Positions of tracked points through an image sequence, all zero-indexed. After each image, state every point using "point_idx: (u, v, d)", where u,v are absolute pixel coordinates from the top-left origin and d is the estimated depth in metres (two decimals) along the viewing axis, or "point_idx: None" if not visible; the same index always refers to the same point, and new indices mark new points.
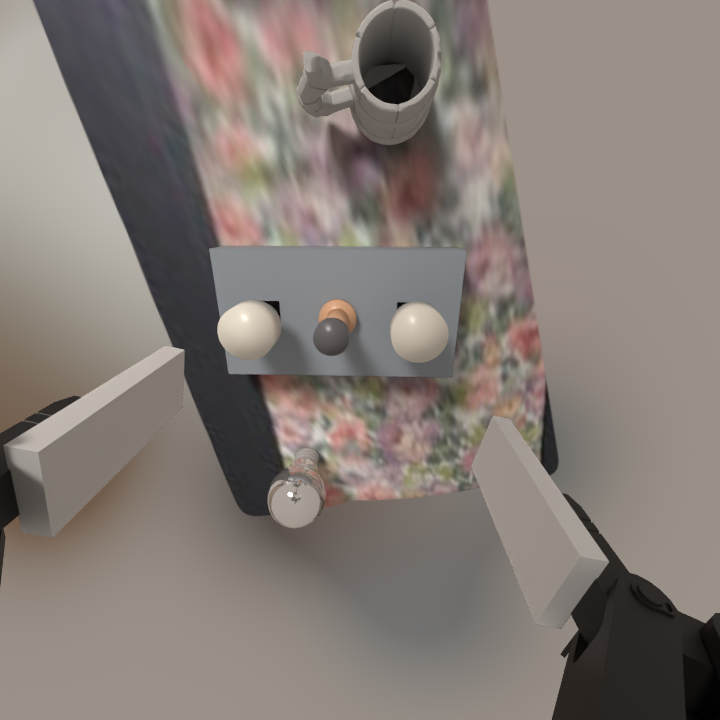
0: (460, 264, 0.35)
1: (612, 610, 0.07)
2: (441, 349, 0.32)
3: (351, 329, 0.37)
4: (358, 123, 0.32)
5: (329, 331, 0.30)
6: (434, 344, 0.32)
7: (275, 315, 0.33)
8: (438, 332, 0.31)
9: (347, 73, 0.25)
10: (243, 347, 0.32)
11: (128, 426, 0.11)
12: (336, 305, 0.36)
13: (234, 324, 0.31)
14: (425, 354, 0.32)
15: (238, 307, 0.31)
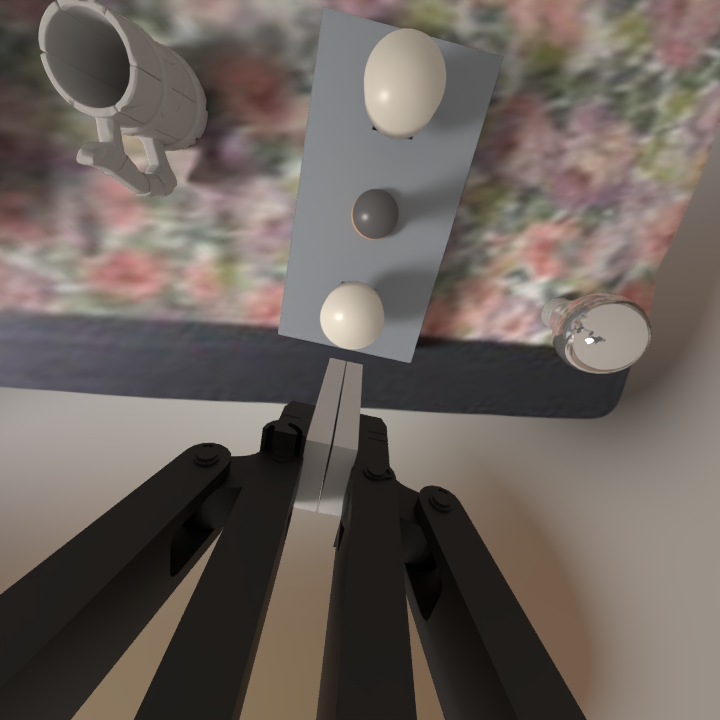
0: (340, 19, 0.26)
1: (352, 498, 0.09)
2: (433, 45, 0.21)
3: None
4: (181, 142, 0.30)
5: (365, 213, 0.24)
6: (422, 57, 0.21)
7: (345, 283, 0.29)
8: (406, 46, 0.21)
9: (106, 124, 0.24)
10: (366, 326, 0.28)
11: None
12: None
13: (338, 327, 0.28)
14: (434, 76, 0.22)
15: (321, 316, 0.28)
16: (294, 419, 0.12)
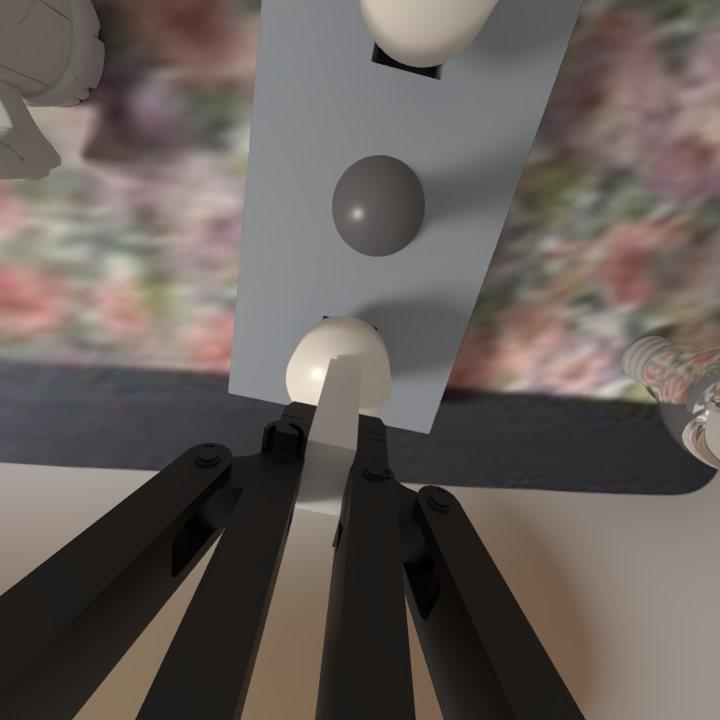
0: None
1: (350, 498, 0.09)
2: None
3: None
4: (54, 91, 0.18)
5: (357, 206, 0.12)
6: None
7: (327, 321, 0.18)
8: None
9: None
10: (362, 393, 0.17)
11: None
12: None
13: (316, 395, 0.17)
14: None
15: (287, 378, 0.17)
16: (295, 419, 0.12)
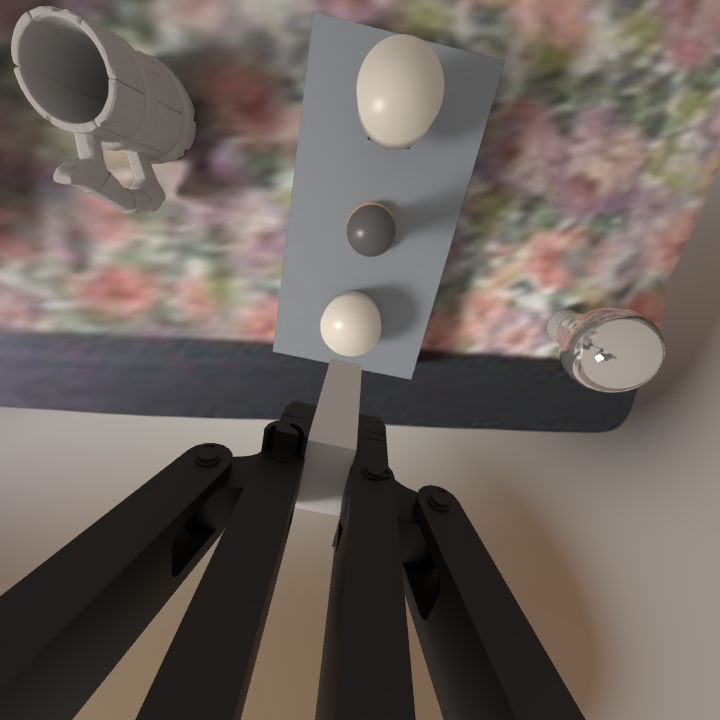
0: (331, 25, 0.24)
1: (350, 498, 0.09)
2: (430, 52, 0.20)
3: None
4: (168, 155, 0.29)
5: (359, 230, 0.22)
6: (419, 64, 0.20)
7: (343, 293, 0.30)
8: (401, 53, 0.20)
9: (86, 140, 0.23)
10: (364, 334, 0.29)
11: None
12: None
13: (337, 336, 0.30)
14: (431, 84, 0.20)
15: (321, 325, 0.29)
16: (295, 419, 0.12)
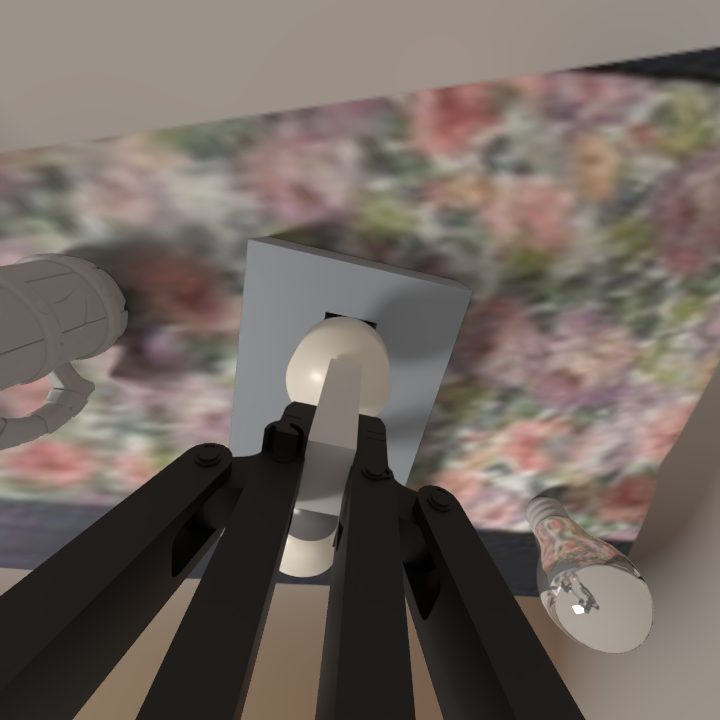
0: (270, 252, 0.21)
1: (350, 498, 0.09)
2: (372, 350, 0.16)
3: None
4: (93, 355, 0.26)
5: (295, 519, 0.19)
6: (360, 361, 0.16)
7: None
8: (337, 351, 0.16)
9: None
10: (316, 559, 0.26)
11: None
12: None
13: (285, 559, 0.26)
14: (376, 379, 0.17)
15: None
16: (295, 419, 0.12)
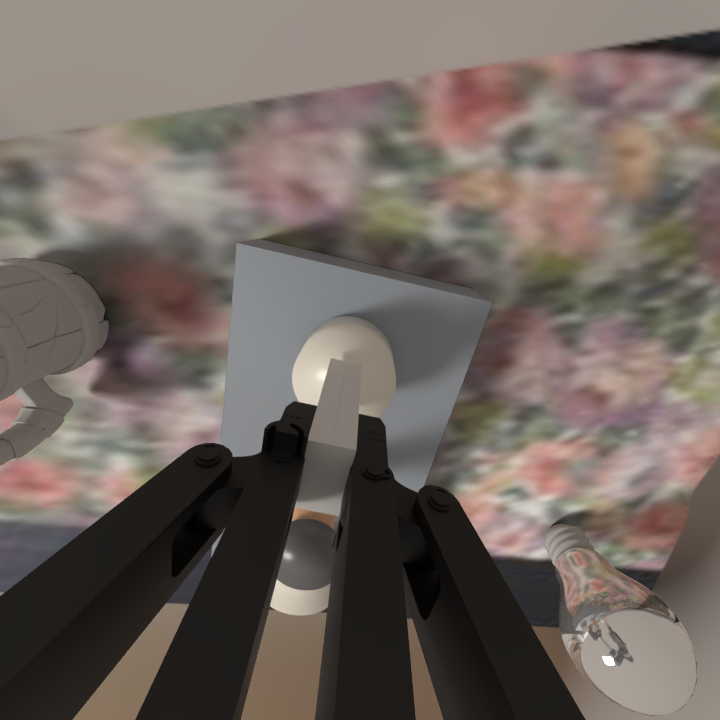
0: (261, 257, 0.18)
1: (350, 498, 0.09)
2: (377, 349, 0.16)
3: None
4: (68, 369, 0.23)
5: (288, 566, 0.16)
6: (365, 360, 0.17)
7: None
8: (343, 350, 0.17)
9: None
10: (314, 597, 0.23)
11: None
12: None
13: (280, 596, 0.23)
14: (381, 378, 0.17)
15: None
16: (295, 419, 0.12)
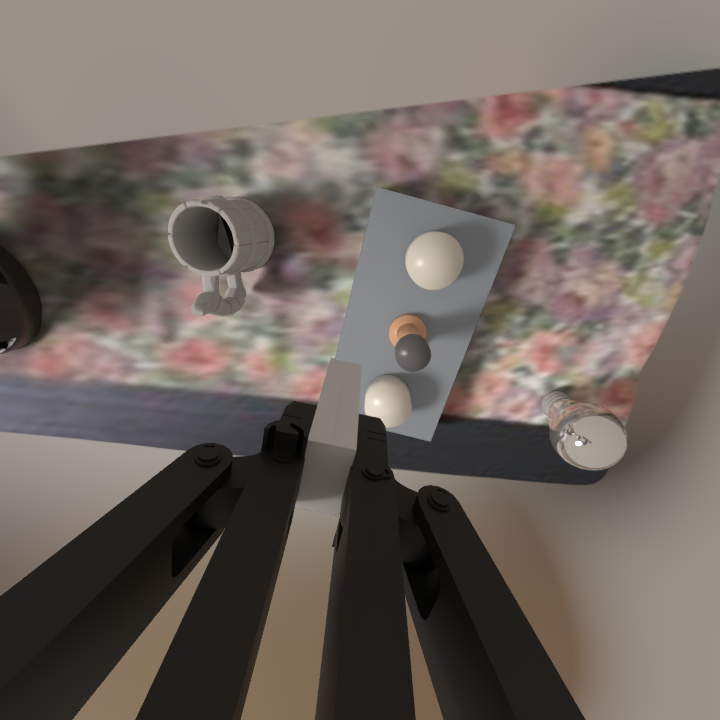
0: (388, 195, 0.33)
1: (350, 498, 0.09)
2: (455, 242, 0.31)
3: (421, 323, 0.36)
4: (253, 268, 0.38)
5: (405, 354, 0.31)
6: (448, 248, 0.31)
7: (382, 378, 0.39)
8: (437, 242, 0.31)
9: (210, 280, 0.31)
10: (398, 412, 0.38)
11: None
12: (394, 330, 0.37)
13: (377, 412, 0.38)
14: (455, 259, 0.32)
15: (365, 404, 0.38)
16: (295, 419, 0.12)
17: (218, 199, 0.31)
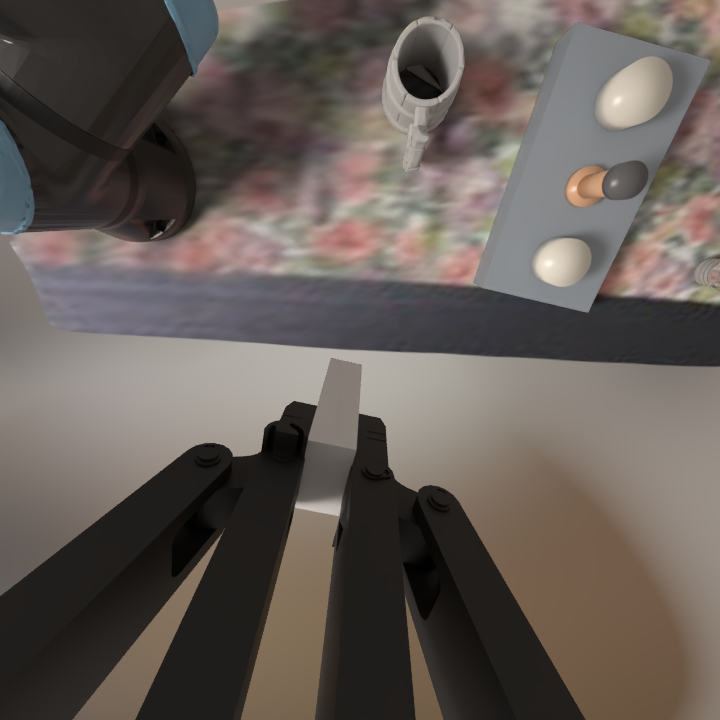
0: (588, 31, 0.33)
1: (350, 498, 0.09)
2: (667, 67, 0.31)
3: None
4: (429, 128, 0.38)
5: (621, 179, 0.31)
6: (658, 75, 0.32)
7: (556, 238, 0.39)
8: (648, 68, 0.32)
9: (424, 112, 0.32)
10: (576, 268, 0.38)
11: None
12: (575, 183, 0.37)
13: (555, 269, 0.38)
14: (663, 87, 0.32)
15: (544, 261, 0.38)
16: (295, 419, 0.12)
17: None
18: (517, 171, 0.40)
